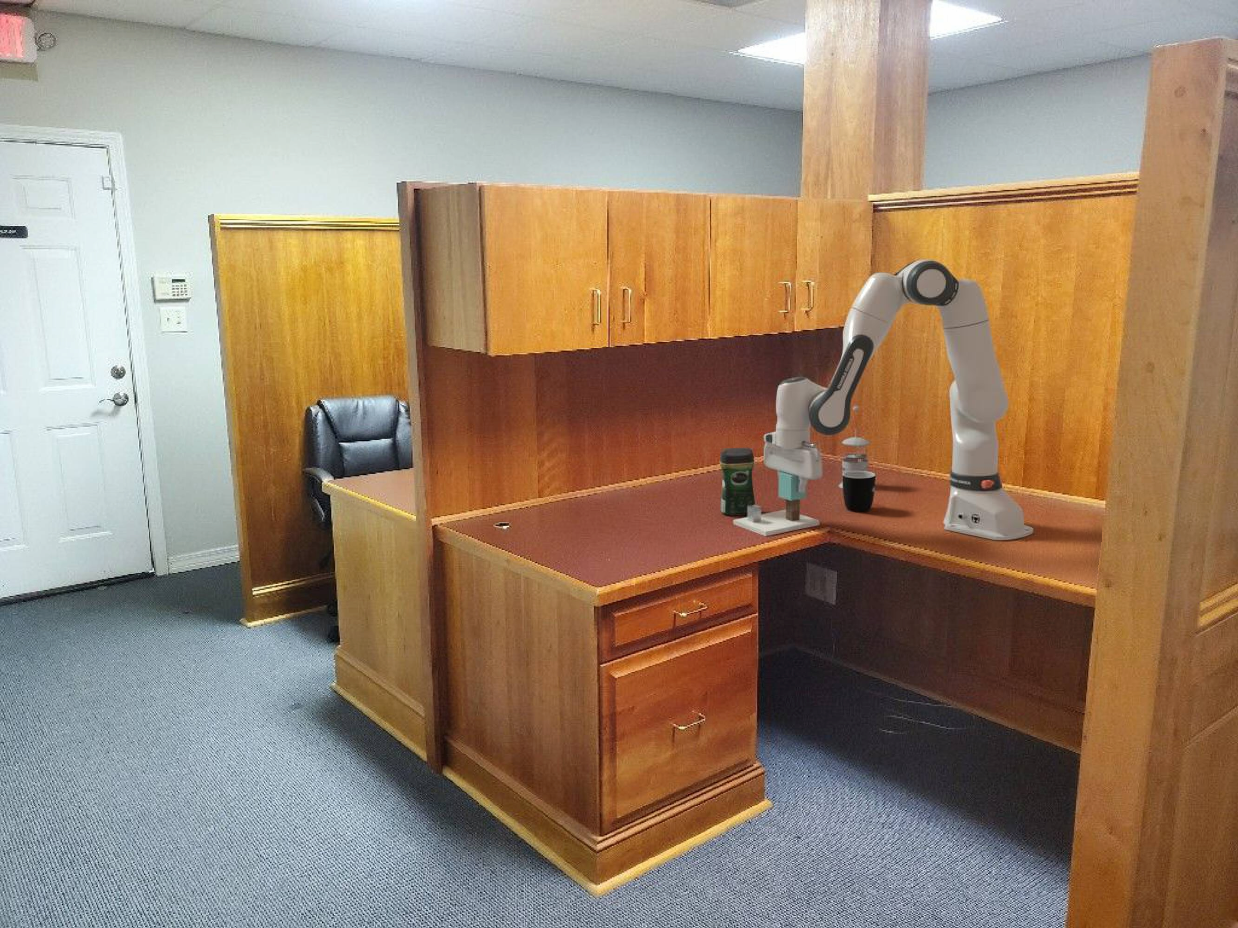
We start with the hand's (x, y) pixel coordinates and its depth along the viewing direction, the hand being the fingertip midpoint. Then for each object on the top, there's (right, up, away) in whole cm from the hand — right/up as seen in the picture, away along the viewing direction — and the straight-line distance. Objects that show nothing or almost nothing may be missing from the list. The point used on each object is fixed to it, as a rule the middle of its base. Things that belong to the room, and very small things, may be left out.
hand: (792, 489), depth 259 cm
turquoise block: (0, -2, 0) cm, 2 cm away
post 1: (-10, -8, +2) cm, 13 cm away
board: (-4, -9, +2) cm, 10 cm away
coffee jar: (-13, -7, +15) cm, 21 cm away
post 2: (0, -8, +2) cm, 8 cm away
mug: (+21, -6, +16) cm, 27 cm away
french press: (+27, 0, +41) cm, 49 cm away
